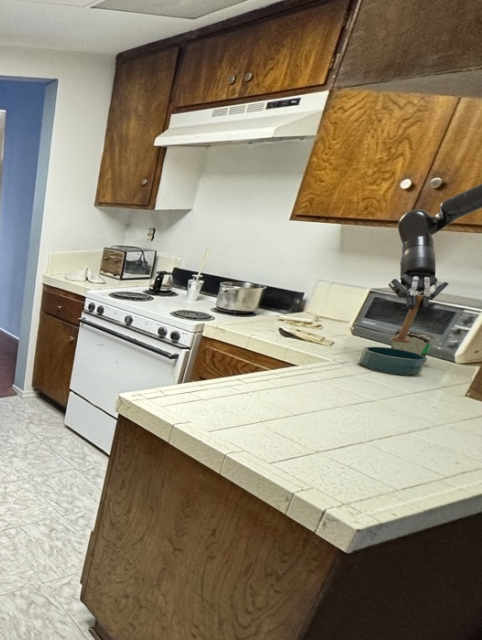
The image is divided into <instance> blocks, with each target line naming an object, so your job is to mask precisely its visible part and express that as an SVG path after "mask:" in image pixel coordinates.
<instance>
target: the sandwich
mask: <svg viewBox="0 0 482 640" xmlns="http://www.w3.org/2000/svg"><path fill="white" fill-rule="evenodd" d="M400 330H401V328H400V329H396V330H395V331H394V332H393V334H392V335H393V336H396V337H398V335H399V332H400ZM406 338H409V339H411V341H410V343H401V342H395V341H392V343H391V346H390V348H394V349H400V350H405V351H409V352H414V353H417V354H420V355H423V356H425V357H427V355H428V353H429V352H430V350H431V348H432V347H433V346H434V345H437V344H438V336H437V335H435V334H432V333H428V332H424V331H417V330H412V329H411V330H410V329H409V331H408V333H407V336H406Z"/></svg>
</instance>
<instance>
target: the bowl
mask: <svg viewBox="0 0 482 640" xmlns="http://www.w3.org/2000/svg"><path fill="white" fill-rule="evenodd" d="M427 360H428V357H427V356H426V357H425V356H423V355H420V354H417V353H414V352H409V351H405V350H400V349H394V348H391V347H387V346H386V347H385V346H364V348H363V350H362V353H361V355H360V357H359V360H358V363H359V364H361V366H362V367H364V368H366V369H369V370H373V371H376V372H380V373H385V374H390V375H396V376H397V375H398V376H414V375H418V374H421V373H422V370H423V368H424V366H425V364H426V363H427Z"/></svg>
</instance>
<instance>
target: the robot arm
mask: <svg viewBox="0 0 482 640" xmlns="http://www.w3.org/2000/svg"><path fill="white" fill-rule="evenodd" d="M481 209H482V183H480V184H478V185H476V186H473V187H471V188H468V189H467V190H464V191H463V192H460V193H457V194H456V195H454V196H452V197H449V198H447V199H445V200H443V201H441V203H440V204H439V210H440V211H439V212H438V213H436V214H434V215H433V216H431V214H430V213H429V212H427V210H425V209H420V208H417V209H412V210H409V211H407V212H405V213H404V214H403V215H402V216H401V217H400V218H399V221H398V222H397V229H398V234H399V235H398V236H399V238H400V240H401V257H400V261H399V266H400V269H399V270H400V275H399V276H400V277H399V279H397V278H393V279H392V280H391V281H390V282H389V283H388V287H389V288H390V289H391V290H392V292H393V293H394V294H395V295H396V296H397V297H398V298H400V299H402V298H404V299H405V300H406V307H407V308H408V310H409V309H413V308H414V307H415V306H416V296H415V295H416V294H417V295H424V297H423V299H422V301H421V304H420V306H419V308H418V310H419V311H425V310H426V309H427V308H428V307H429V305H430V301H433V300H434V299H435V298H436V297H437V296H438V295H439V294H440V293H442V291H443V290H444V289H445V288H446V287H447V286H448V285H449V282H447V281H444V282H441V281H438V278H437V277H436V253H435V240H434V238H433V236H434V235H435V234H437V233H438V232H440V231H442V230H443V229H444V228H446V227H448V226H449V225H451V224H453V223H454V222H455V221H457V220H458V219H461V218H463V217H465V216H469V215H470V214H473V213H474V212H477V211H479V210H481ZM431 287H434V291H433V292H432V293H431V292H430V291H431Z"/></svg>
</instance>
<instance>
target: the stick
mask: <svg viewBox="0 0 482 640" xmlns="http://www.w3.org/2000/svg"><path fill="white" fill-rule="evenodd" d="M414 296H416V306H415V307H414V308H413V309H409V308H408V312H407V313H406V316H405V319H404V321H403V323H402V326H401V328H400V332H399V335H398V337H396V336H395V335H393V336H391V337H390V341H392V342H393V341H395V342H401V343H410V341H411V339H409V338H406V336H407V333H408V331H409V330H410V328H411V327H412V324H413V322H414V320H415V317H416V315H417V313H418V310H419V306H420V304H421V301H422V299H423V297H424V295H418V294H415V295H414Z"/></svg>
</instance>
